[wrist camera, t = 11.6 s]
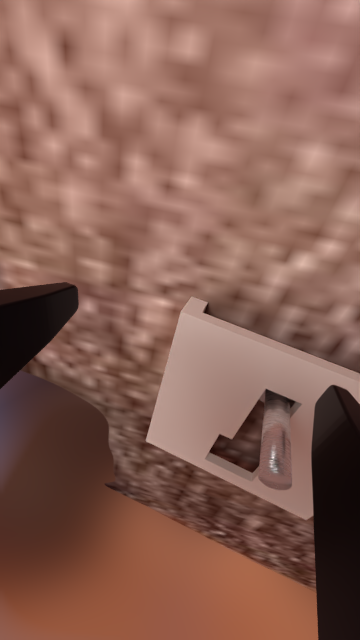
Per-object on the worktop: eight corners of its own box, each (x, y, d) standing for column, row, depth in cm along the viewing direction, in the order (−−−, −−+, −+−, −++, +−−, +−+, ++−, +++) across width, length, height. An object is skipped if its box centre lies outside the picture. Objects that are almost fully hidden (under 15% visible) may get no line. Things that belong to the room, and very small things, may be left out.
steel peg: (313, 375, 21) (329, 482, 14) (289, 405, 24) (292, 509, 17) (264, 356, 22) (254, 448, 15) (246, 387, 25) (230, 479, 17)
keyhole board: (441, 391, 18) (463, 422, 16) (304, 493, 30) (305, 520, 28) (191, 296, 21) (180, 311, 19) (155, 422, 33) (145, 441, 31)
